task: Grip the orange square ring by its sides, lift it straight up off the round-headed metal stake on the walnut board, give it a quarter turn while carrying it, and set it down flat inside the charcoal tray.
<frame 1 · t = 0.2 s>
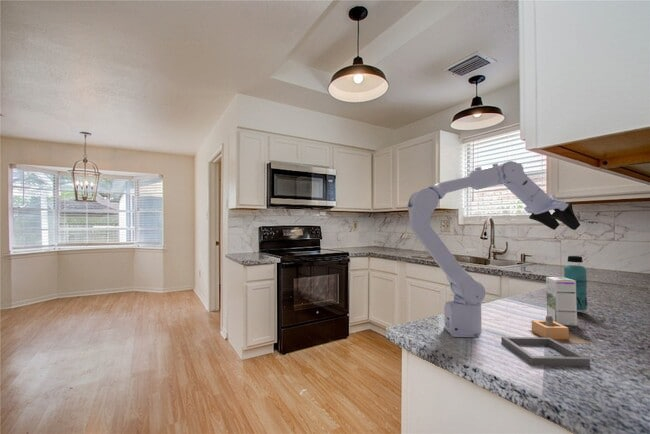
hand: (566, 227, 85), 30 cm above the counter, tool tilted 45°, fingers open, 7 cm apart
syrup box: (561, 325, 92), on the counter
stake board: (557, 340, 80), on the counter
ring: (549, 335, 81), point 1 cm above the counter, touching stake board
beverage bottle: (575, 312, 105), on the counter
tray: (541, 357, 70), on the counter
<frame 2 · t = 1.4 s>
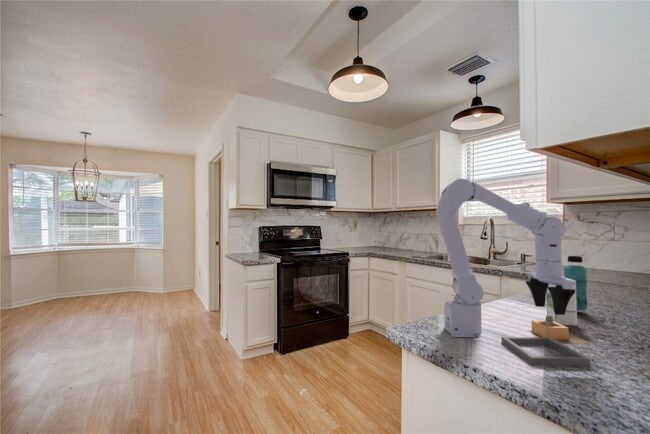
hand: (549, 310, 81), 8 cm above the counter, tool pointing down, fingers open, 7 cm apart
nothing on the counter moved.
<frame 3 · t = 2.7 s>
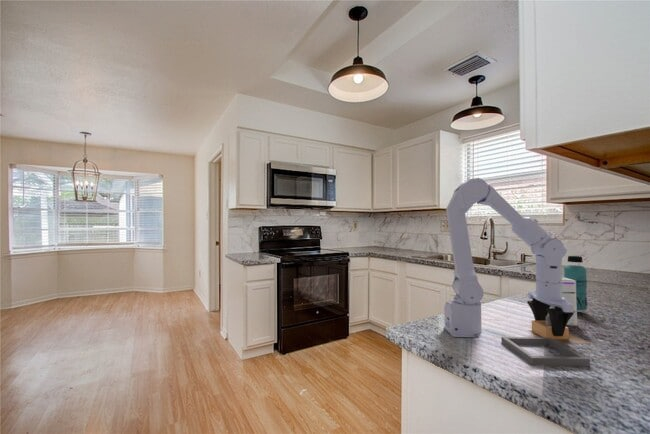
hand: (549, 331, 81), 2 cm above the counter, tool pointing down, fingers closed on ring, 6 cm apart
ring: (549, 335, 81), point 1 cm above the counter, touching gripper, stake board
everything else where it was.
when the fingers open (3 cm above the counter, at t = 8.5 s): ring drops 1 cm, resting on tray.
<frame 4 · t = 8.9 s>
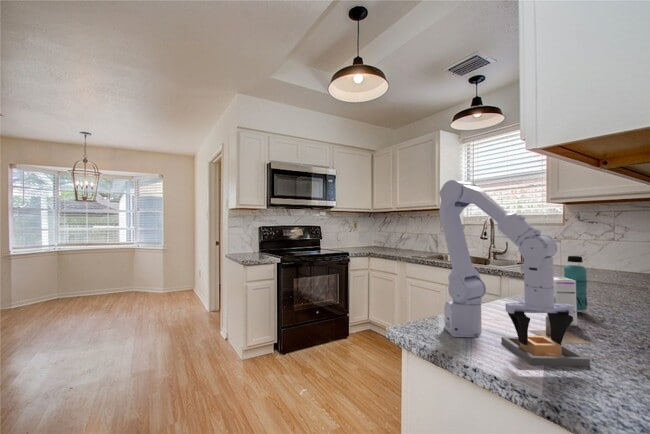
hand: (539, 343, 70), 3 cm above the counter, tool pointing down, fingers open, 7 cm apart
ring: (539, 353, 70), point 1 cm above the counter, touching tray
everything else where it was.
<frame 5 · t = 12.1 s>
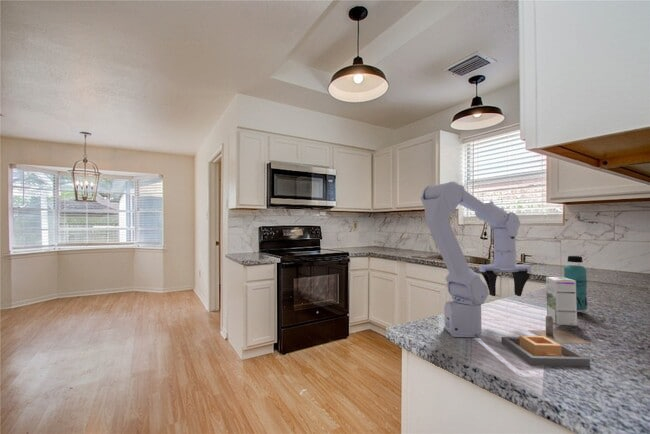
hand: (505, 295, 91), 9 cm above the counter, tool pointing down, fingers open, 7 cm apart
nothing on the counter moved.
at the end: ring inside the target area on the tray (0.6 cm from its centre), point 0.8 cm above the tray's base; ring tilted 0°; the gripper is holding nothing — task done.
